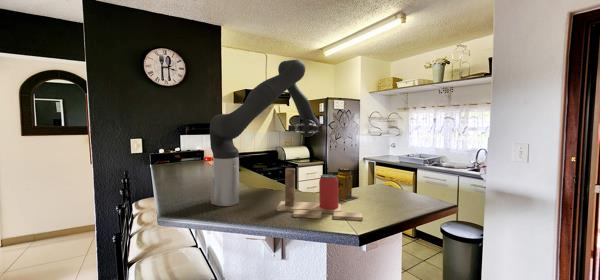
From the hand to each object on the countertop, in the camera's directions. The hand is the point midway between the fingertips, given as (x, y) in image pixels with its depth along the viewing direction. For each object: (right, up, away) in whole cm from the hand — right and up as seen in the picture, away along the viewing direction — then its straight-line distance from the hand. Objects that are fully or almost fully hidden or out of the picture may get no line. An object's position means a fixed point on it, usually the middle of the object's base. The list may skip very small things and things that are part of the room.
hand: (304, 128), depth 103 cm
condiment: (+17, -28, +4) cm, 33 cm away
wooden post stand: (+2, -29, -11) cm, 31 cm away
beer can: (+9, -29, -11) cm, 32 cm away
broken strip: (+7, -29, -18) cm, 35 cm away
